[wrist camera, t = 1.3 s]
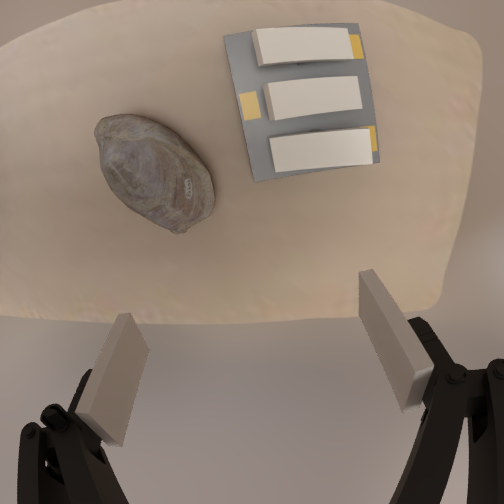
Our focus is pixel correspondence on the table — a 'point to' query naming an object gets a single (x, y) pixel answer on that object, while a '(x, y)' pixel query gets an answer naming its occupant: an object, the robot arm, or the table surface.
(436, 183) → the table surface
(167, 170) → the seashell
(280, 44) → the plate
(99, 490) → the robot arm
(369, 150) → the rocker
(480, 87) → the table surface
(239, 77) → the switch unit
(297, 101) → the rocker
